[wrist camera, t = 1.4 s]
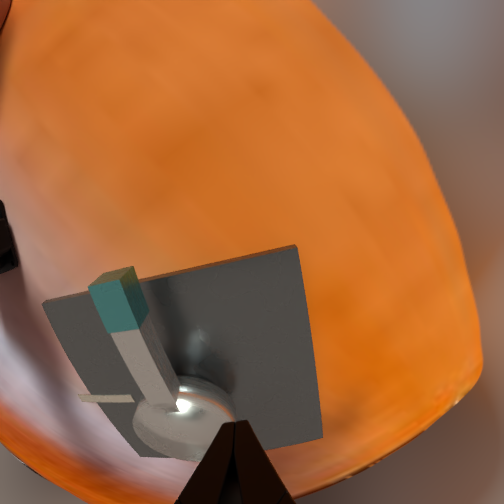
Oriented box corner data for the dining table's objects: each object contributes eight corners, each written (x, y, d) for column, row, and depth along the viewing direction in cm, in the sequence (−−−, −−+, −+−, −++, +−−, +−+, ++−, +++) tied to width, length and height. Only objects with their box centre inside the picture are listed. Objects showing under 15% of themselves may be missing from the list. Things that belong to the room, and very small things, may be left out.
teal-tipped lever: (246, 431, 21) (247, 458, 18) (164, 437, 21) (159, 462, 18) (181, 250, 16) (169, 268, 13) (76, 276, 16) (53, 294, 13)
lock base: (128, 451, 26) (124, 465, 23) (33, 303, 20) (19, 314, 17) (321, 432, 25) (326, 448, 23) (294, 244, 19) (302, 254, 17)
